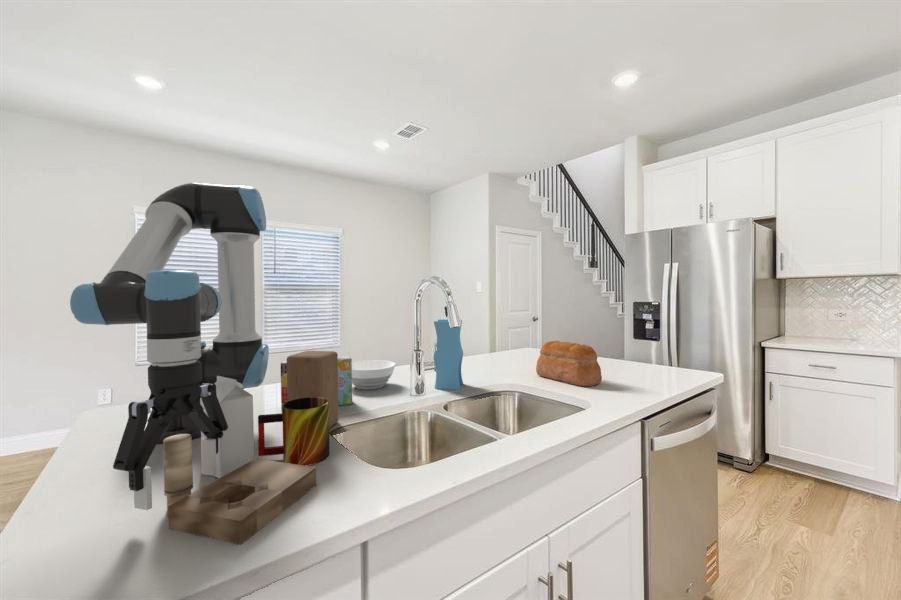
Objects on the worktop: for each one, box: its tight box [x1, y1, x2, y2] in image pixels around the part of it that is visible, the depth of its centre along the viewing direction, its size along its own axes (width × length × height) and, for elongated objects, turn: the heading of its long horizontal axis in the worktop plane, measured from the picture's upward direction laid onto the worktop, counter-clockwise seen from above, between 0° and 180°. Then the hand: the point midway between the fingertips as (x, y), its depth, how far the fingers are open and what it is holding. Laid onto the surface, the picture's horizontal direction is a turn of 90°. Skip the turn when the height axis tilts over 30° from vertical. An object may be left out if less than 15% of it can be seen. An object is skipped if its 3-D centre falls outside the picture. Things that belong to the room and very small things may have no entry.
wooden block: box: [286, 350, 340, 429], centre depth 106 cm, size 10×10×20 cm
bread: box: [535, 340, 603, 387], centre depth 160 cm, size 14×26×15 cm, turn 34°
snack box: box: [280, 355, 353, 411], centre depth 126 cm, size 21×6×15 cm, turn 108°
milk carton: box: [200, 376, 255, 479], centre depth 82 cm, size 7×7×19 cm
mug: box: [257, 397, 330, 466], centre depth 87 cm, size 10×14×12 cm
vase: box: [433, 318, 464, 391], centre depth 150 cm, size 10×10×25 cm
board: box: [167, 458, 317, 545], centre depth 68 cm, size 14×18×4 cm
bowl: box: [352, 359, 396, 391], centre depth 151 cm, size 20×20×8 cm
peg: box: [162, 434, 194, 512], centre depth 68 cm, size 4×4×12 cm
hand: (178, 489), depth 68 cm, fingers open, 11 cm apart
